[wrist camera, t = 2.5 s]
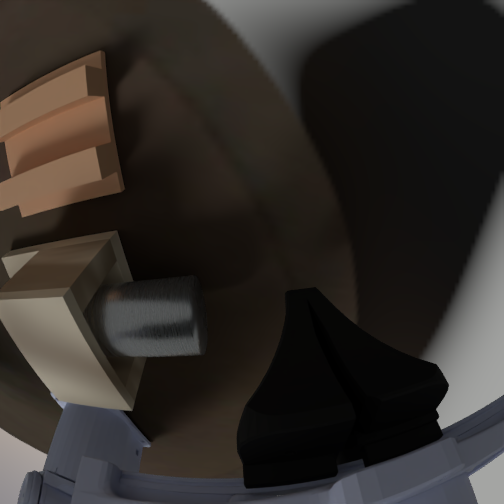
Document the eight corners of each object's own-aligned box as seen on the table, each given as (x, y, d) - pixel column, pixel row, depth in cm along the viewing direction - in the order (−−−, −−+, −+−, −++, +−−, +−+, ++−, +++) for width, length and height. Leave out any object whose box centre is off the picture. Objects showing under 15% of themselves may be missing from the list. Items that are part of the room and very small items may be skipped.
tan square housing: (153, 334, 16) (132, 410, 11) (50, 333, 16) (18, 390, 11) (117, 230, 13) (62, 296, 8) (9, 250, 13) (-43, 300, 8)
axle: (195, 260, 13) (184, 309, 10) (209, 319, 15) (204, 371, 12) (39, 278, 13) (8, 314, 10) (62, 325, 15) (39, 364, 12)
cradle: (125, 189, 12) (107, 202, 10) (27, 214, 12) (6, 228, 10) (104, 52, 9) (83, 44, 7) (5, 101, 9) (-19, 104, 7)
